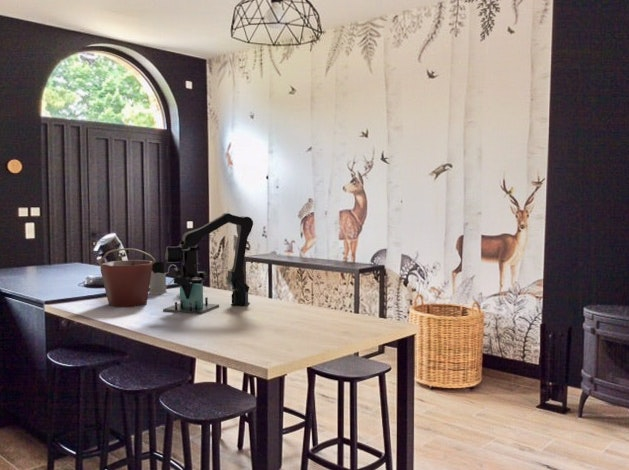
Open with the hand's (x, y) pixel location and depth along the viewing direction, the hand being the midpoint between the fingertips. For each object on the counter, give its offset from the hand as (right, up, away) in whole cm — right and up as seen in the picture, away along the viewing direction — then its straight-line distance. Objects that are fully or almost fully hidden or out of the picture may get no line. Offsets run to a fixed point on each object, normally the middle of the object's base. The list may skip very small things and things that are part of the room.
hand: (191, 297), depth 249 cm
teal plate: (0, -4, 0) cm, 4 cm away
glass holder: (-23, -2, +42) cm, 48 cm away
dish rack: (0, -5, 0) cm, 5 cm away
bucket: (-31, -4, +14) cm, 35 cm away
